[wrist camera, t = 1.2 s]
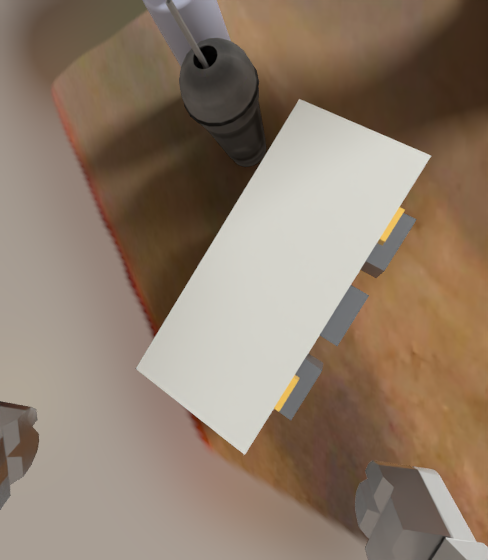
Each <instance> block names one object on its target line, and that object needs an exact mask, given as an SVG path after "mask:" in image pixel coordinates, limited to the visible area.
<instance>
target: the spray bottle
mask: <svg viewBox="0 0 488 560" xmlns="http://www.w3.org/2000/svg"><path fill="white" fill-rule="evenodd" d="M172 1H173V3H174V5H175V6H176V8H177V10H178V12H179V13H180V15H181V17H182V19H183V21H184V22H185V24H186V26H187V28H188V29H189V31H190V33H191V35H192V36H193V38H194V40H195V42H196V44H197V43H199V42H201V41H203V40H206V39H208V38H221V39H225V40H229V41H231V40H230V38H229V35H228V32H227V29H226V26H225V23H224V20H223V17H222V15H221V12H220V9H219V6H218V3H217V0H172ZM143 2H144V4H145V6H146V7H147V9H148V11H149V13H150V14H151V16H152V18H153V19H154V21H155V23H156V25H157V26H158V28H159V30H160V32H161V33H162V35H163V37H164V38H165V40H166V42H167V44H168V45H169V47H170V49H171V50H172V52H173V54H174V56H175V57H176V59H177V61H178V63H179V64H180V66H181V65H182V63H183V61H184V59H185V56H186V54H187V53H188V52H189V51H190V49H191V46H190V44H189V43H188V41H187V39H186V38H185V36H184V34H183V32H182V31H181V29H180V27H179V26H178V24H177V22H176V20H175V19H174V17H173V15H172V14H171V12H170V10H169V8H168V7H167V5H166V3H165V2H166V0H143Z"/></svg>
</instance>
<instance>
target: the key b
mask: <svg viewBox="0 0 488 560" xmlns="http://www.w3.org/2000/svg"><path fill="white" fill-rule="evenodd" d="M416 220H417V219H414V218H412V217H410V216H408V215H406V214H404V213H403V214H402V216H401V217H400V219H399V220H398V222H397V224H396V225H395V227H394V228H393V230H392V232H391V233H390V235H389V236H388V238H387V240H386V241H385V243H384V244H383V245H380V244H378V243H377V244H376V245H375V247H374V248H373V250H372V252H371V253H370V255H369V256H368V258H367V260H366V261H365V263H364V264H363V266H362V268H361V269H360V270H362V271H364V272H366V273H368V274H369V275H371V276H373V277H375V278H377V277H378V276H379V275H380V274H381V273H383V272H384V271H385V269H386V268H387V266H388V264H389V263H390V261H391V260H392V258H393V256H394V255H395V253H396V252H397V250H398V248H399V247H400V245H401V244H402V242H403V240H404V239H405V237H406V236H407V234H408V232H409V231H410V229H411V228H412V226H413V224H414V223H415V221H416Z"/></svg>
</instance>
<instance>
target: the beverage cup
mask: <svg viewBox="0 0 488 560" xmlns="http://www.w3.org/2000/svg"><path fill="white" fill-rule="evenodd" d="M165 3H166V5H167V7H168V8H169V10H170V12H171V14H172V15H173V17H174V19H175V20H176V22H177V24H178V26H179V27H180V29H181V31H182V32H183V34H184V36H185V38H186V39H187V41H188V43H189V44H190V46H191V49H190V51H189V52H188V53H187V54H186V56H185V59H184V61H183V63H182V65H181V71H180V78H179V84H180V90H181V96H182V99H183V101H184V105H185V108H186V110H187V111H188V113H189V115H190V117H192V118H193V119H194V120H195V121H197V122H198V123H200V124H201V125H202V126H203V127H205V128H206V129H207V130H208V132H209V133H210V134H211V135H212V136H213V138H214V139H215V140H216V141H217V142H218V143H219V145H220V146H221V147H222V148H223V149H224V151H225V152H226V153H227V154H228V155H229V157H231V158H232V159H233V160H234V162H236V163H237V164H238V165H240V166H243V167H249V166H253V165H255V164H257V163H258V162H260V160H261V159H262V158H263V157H264V154H265V152H266V143H265V134H264V129H263V123H262V118H261V112H260V107H259V102H258V98H259V88H258V85H259V79H258V75H257V70H256V69H255V67H254V66H253V64H252V63H251V61H250V60H249V58H248V57H247V55H246V54H245V52H244V51H243V50H242V49H241V48H240V47H239V46H237V45H236V44H234V43H233V42H231V41H229V40H225V39H221V38H208V39H206V40H203V41H201V42H199V43H197V44H196V42H195V40H194V38H193V36H192V35H191V33H190V31H189V29H188V28H187V26H186V24H185V22H184V21H183V19H182V17H181V15H180V13H179V12H178V10H177V8H176V6H175V5H174V3H173V1H172V0H166V2H165Z"/></svg>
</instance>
